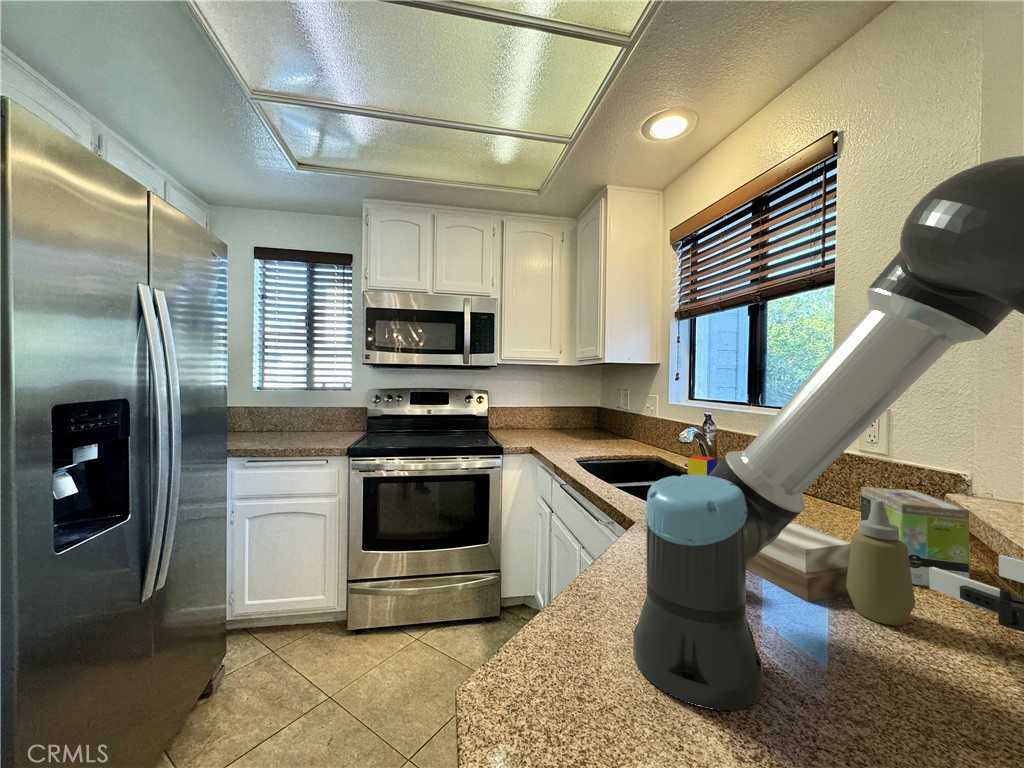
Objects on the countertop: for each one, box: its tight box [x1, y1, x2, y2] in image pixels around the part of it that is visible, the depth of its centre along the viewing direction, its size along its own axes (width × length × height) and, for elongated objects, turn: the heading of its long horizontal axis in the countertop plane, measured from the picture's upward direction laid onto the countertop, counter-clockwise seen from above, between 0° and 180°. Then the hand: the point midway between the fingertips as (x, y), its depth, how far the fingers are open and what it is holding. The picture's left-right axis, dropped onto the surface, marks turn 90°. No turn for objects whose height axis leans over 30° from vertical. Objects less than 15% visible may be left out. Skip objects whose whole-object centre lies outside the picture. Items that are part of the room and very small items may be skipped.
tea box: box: [860, 486, 970, 588], centre depth 78 cm, size 15×10×15 cm
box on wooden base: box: [746, 522, 851, 603], centre depth 75 cm, size 14×14×8 cm
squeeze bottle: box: [846, 500, 916, 627], centre depth 62 cm, size 8×8×18 cm
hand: (966, 571), depth 53 cm, fingers open, 13 cm apart
